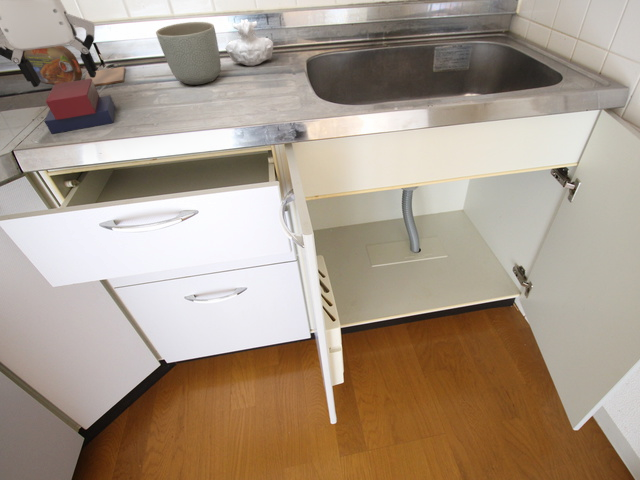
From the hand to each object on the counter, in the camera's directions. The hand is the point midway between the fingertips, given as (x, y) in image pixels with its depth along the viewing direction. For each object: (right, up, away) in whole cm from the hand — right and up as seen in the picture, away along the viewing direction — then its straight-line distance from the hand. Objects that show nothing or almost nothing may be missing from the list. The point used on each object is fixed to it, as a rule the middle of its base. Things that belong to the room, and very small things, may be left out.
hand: (66, 80), depth 74 cm
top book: (0, -4, +4) cm, 5 cm away
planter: (+18, +9, +20) cm, 28 cm away
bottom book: (0, -6, +5) cm, 8 cm away
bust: (+29, +17, +28) cm, 43 cm away
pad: (-8, +12, +24) cm, 28 cm away
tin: (-18, +10, +23) cm, 31 cm away
